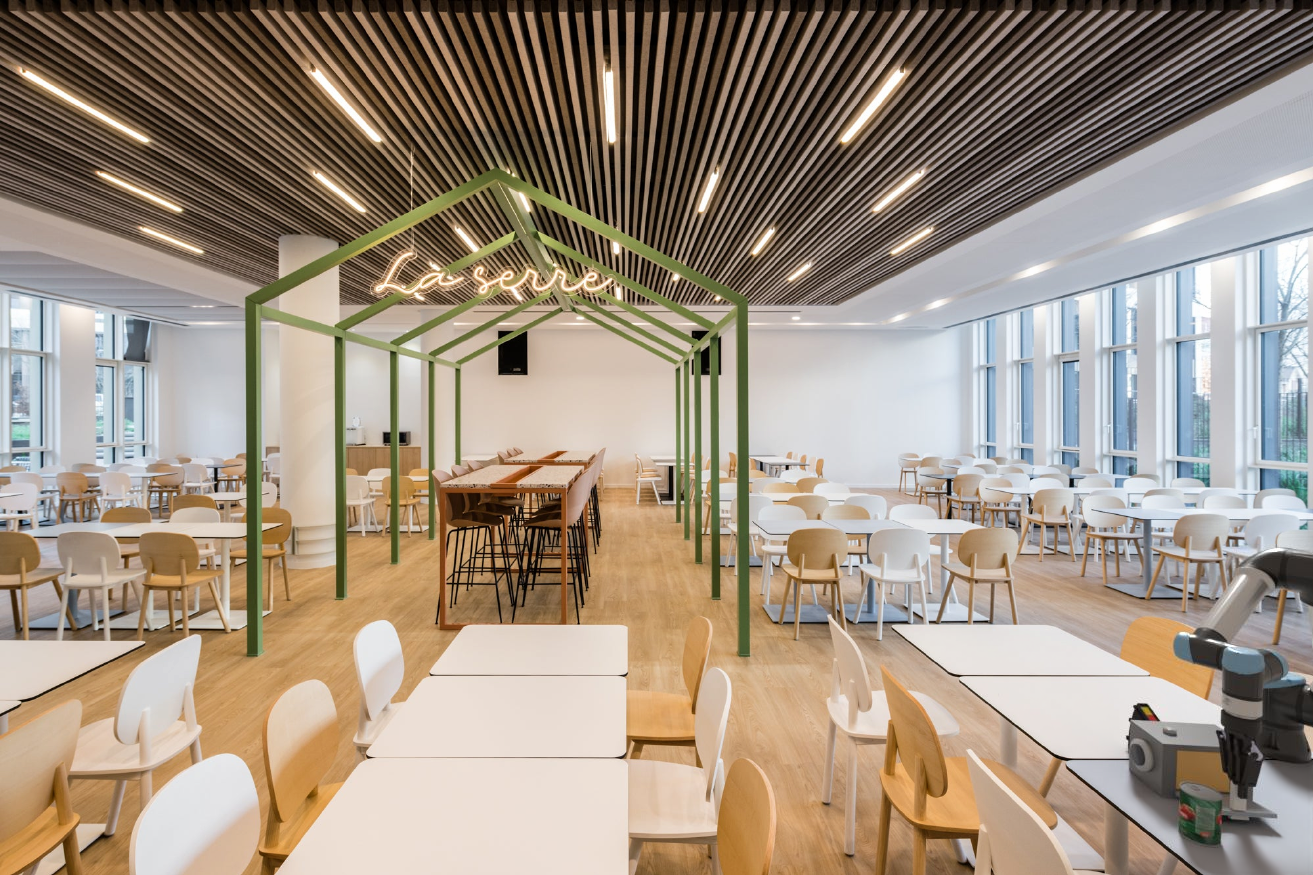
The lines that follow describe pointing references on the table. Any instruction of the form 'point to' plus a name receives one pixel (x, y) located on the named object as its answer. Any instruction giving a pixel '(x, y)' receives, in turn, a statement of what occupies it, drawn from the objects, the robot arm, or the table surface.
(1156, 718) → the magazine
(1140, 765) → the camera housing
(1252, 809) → the door
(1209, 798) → the canned tomato
